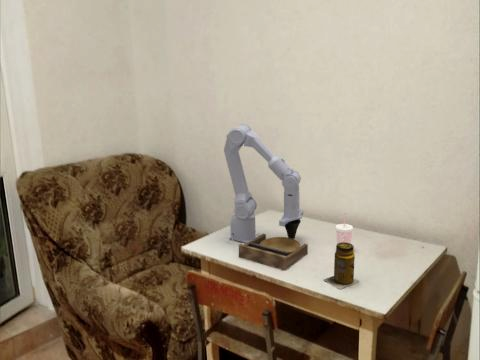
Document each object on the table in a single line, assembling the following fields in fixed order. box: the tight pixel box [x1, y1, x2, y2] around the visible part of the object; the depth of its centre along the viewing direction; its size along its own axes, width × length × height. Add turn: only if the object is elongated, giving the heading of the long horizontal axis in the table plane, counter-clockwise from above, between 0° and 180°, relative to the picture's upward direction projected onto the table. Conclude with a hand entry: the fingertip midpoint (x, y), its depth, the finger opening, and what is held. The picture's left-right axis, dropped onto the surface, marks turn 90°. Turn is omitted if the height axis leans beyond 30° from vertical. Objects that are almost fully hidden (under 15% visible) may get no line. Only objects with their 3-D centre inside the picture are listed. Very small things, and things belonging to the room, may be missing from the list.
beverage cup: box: [335, 213, 354, 245], centre depth 163 cm, size 6×6×14 cm
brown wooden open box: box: [238, 233, 309, 271], centre depth 161 cm, size 19×16×4 cm
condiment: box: [323, 242, 360, 290], centre depth 141 cm, size 7×8×12 cm
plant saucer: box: [260, 236, 302, 254], centre depth 165 cm, size 15×15×3 cm
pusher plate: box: [249, 242, 289, 256], centre depth 159 cm, size 16×1×4 cm, turn 54°
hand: (291, 238), depth 171 cm, fingers closed
